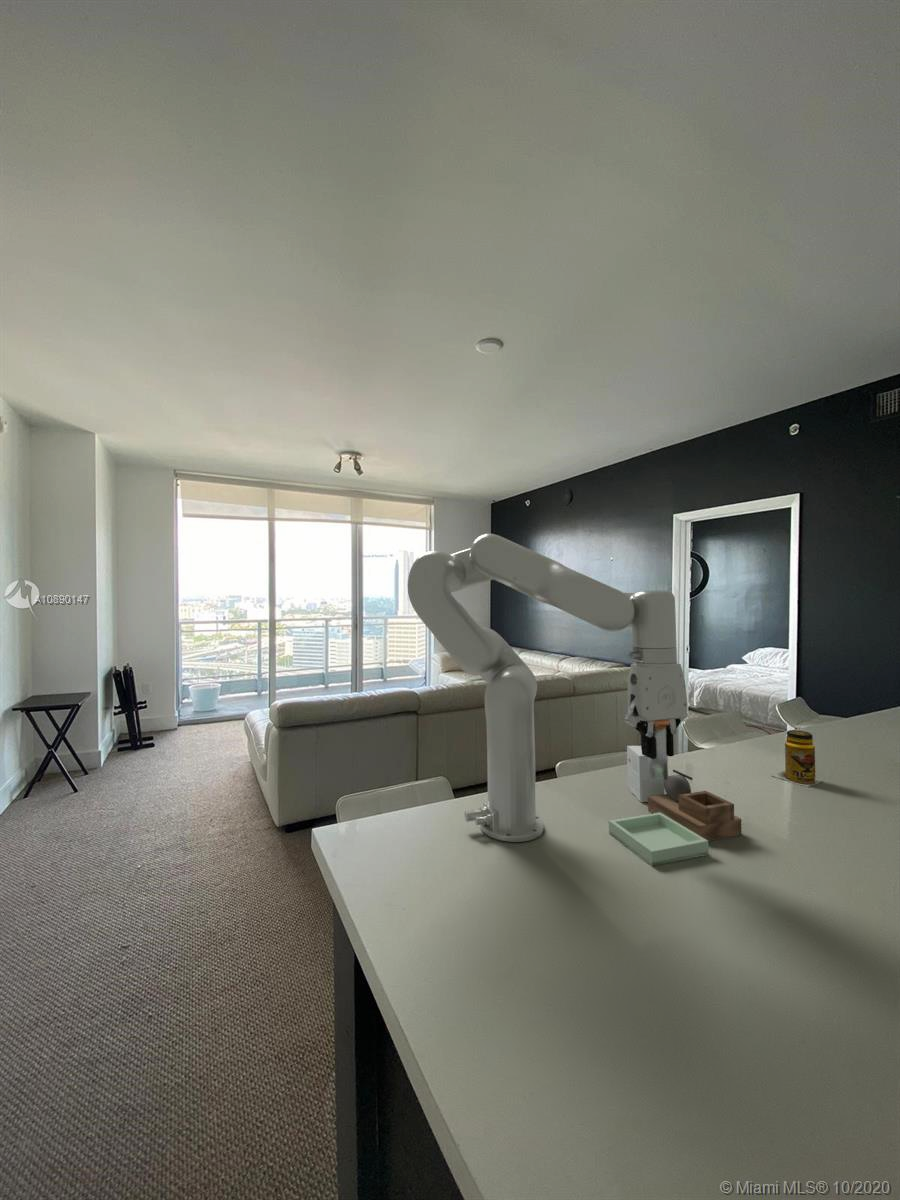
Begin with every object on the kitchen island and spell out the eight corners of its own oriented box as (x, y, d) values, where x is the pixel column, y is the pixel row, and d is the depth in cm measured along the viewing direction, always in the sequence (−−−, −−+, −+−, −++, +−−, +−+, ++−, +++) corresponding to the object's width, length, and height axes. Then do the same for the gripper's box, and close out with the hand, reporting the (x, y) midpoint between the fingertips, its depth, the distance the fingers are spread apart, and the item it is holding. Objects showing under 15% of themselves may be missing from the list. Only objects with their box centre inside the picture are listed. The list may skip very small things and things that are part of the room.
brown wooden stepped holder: (699, 842, 88) (699, 797, 88) (648, 810, 101) (647, 772, 101) (741, 834, 91) (740, 791, 91) (686, 804, 104) (685, 767, 104)
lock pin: (657, 782, 85) (655, 720, 85) (640, 774, 89) (638, 715, 89) (677, 779, 86) (675, 718, 86) (659, 771, 90) (658, 713, 90)
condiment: (808, 787, 113) (807, 737, 113) (770, 776, 121) (769, 729, 121) (823, 781, 117) (822, 733, 117) (786, 771, 124) (785, 725, 124)
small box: (665, 802, 105) (664, 755, 105) (639, 802, 105) (639, 755, 106) (650, 788, 113) (650, 745, 113) (627, 788, 113) (626, 745, 114)
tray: (651, 866, 80) (651, 851, 80) (609, 833, 92) (608, 820, 92) (708, 855, 83) (708, 840, 83) (660, 824, 95) (660, 812, 95)
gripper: (630, 661, 82) (633, 767, 82) (706, 656, 86) (709, 756, 86) (604, 657, 89) (607, 754, 89) (675, 652, 94) (678, 745, 93)
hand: (657, 754), depth 87 cm, fingers closed on lock pin, 3 cm apart
